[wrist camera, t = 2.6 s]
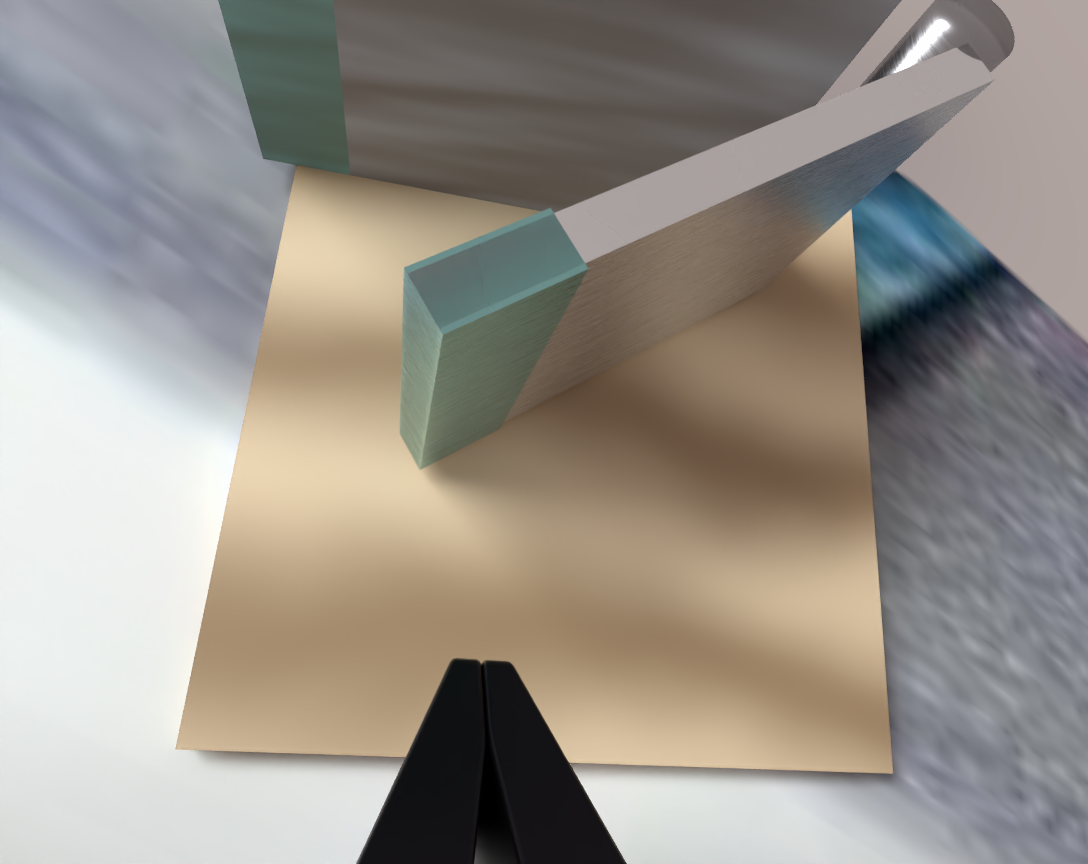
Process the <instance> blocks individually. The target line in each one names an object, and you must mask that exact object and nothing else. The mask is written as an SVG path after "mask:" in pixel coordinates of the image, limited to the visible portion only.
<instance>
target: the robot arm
mask: <svg viewBox="0 0 1088 864" xmlns="http://www.w3.org/2000/svg"><path fill="white" fill-rule="evenodd" d="M356 864H627V863H626V862H625V860H624V858H623V856H622V855H621V853H620V851H619V849H618V848H617V846H616V844H615V842H614V841H613V839H612V837H611V835H610V834H609V832H608V830H607V828H606V827H605V825H604V823H603V821H602V820H601V818H600V816H599V814H598V813H597V811H596V809H595V807H594V806H593V804H592V802H591V800H590V799H589V797H588V795H587V793H586V792H585V790H584V788H583V786H582V784H581V783H580V781H579V779H578V777H577V776H576V774H575V772H574V770H573V769H572V767H571V765H570V763H569V762H568V760H567V758H566V756H565V755H564V753H563V751H562V749H561V748H560V746H559V744H558V742H557V741H556V739H555V737H554V735H553V734H552V732H551V730H550V728H549V727H548V725H547V723H546V721H545V720H544V718H543V716H542V714H541V713H540V711H539V709H538V707H537V706H536V704H535V702H534V700H533V698H532V697H531V695H530V693H529V691H528V690H527V688H526V686H525V684H524V683H523V681H522V679H521V677H520V676H519V674H518V672H517V670H516V669H515V667H514V665H513V664H512V663H510V662H509V661H498V660H485V661H483V662H482V663H480V661H479V660H477V659H465V658H454V659H452V660H451V661H450V663H449V665H448V667H447V669H446V671H445V673H444V676H443V678H442V680H441V682H440V684H439V686H438V688H437V691H436V693H435V695H434V697H433V699H432V701H431V704H430V706H429V708H428V710H427V712H426V714H425V717H424V719H423V721H422V723H421V725H420V727H419V729H418V732H417V734H416V736H415V738H414V740H413V742H412V745H411V747H410V749H409V751H408V753H407V755H406V758H405V760H404V762H403V764H402V766H401V768H400V770H399V773H398V775H397V777H396V779H395V781H394V783H393V786H392V788H391V790H390V792H389V794H388V796H387V799H386V801H385V803H384V805H383V807H382V809H381V811H380V814H379V816H378V818H377V820H376V822H375V824H374V827H373V829H372V831H371V833H370V835H369V837H368V839H367V842H366V844H365V846H364V848H363V850H362V852H361V855H360V857H359V859H358V861H357V863H356Z"/></svg>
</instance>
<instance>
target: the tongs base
mask: <svg viewBox="0 0 1088 864" xmlns="http://www.w3.org/2000/svg"><path fill="white" fill-rule="evenodd" d="M218 1H219V4H220V8H221V11H222V15H223V18H224V22H225V25H226V29H227V33H228V36H229V40H230V43H231V47H232V50H233V54H234V57H235V61H236V64H237V68H238V71H239V75H240V78H241V82H242V85H243V89H244V92H245V96H246V99H247V103H248V106H249V110H250V113H251V117H252V120H253V124H254V128H255V131H256V135H257V138H258V142H259V145H260V149H261V152H262V156H263V159H268V160H273V161H279V162H284V163H289V164H294V165H296V170H295V174H294V179H293V184H292V189H291V194H290V199H289V203H288V208H287V213H286V218H285V223H284V228H283V232H282V237H281V242H280V247H279V252H278V257H277V261H276V266H275V271H274V276H273V281H272V286H271V290H270V295H269V300H268V305H267V310H266V315H265V319H264V324H263V329H262V334H261V339H260V343H259V348H258V353H257V358H256V363H255V368H254V372H253V377H252V382H251V387H250V392H249V397H248V401H247V406H246V411H245V416H244V421H243V426H242V430H241V435H240V440H239V445H238V450H237V455H236V459H235V464H234V469H233V474H232V479H231V484H230V488H229V493H228V498H227V503H226V508H225V513H224V517H223V522H222V527H221V532H220V537H219V542H218V546H217V551H216V556H215V561H214V566H213V571H212V575H211V580H210V585H209V590H208V595H207V600H206V604H205V609H204V614H203V619H202V624H201V629H200V633H199V638H198V643H197V648H196V653H195V657H194V662H193V667H192V672H191V677H190V682H189V686H188V691H187V696H186V701H185V706H184V711H183V715H182V720H181V725H180V730H179V735H178V740H177V744H176V749H180V750H209V751H239V752H268V753H298V754H328V755H357V756H387V757H406V755H407V753H408V751H409V749H410V747H411V745H412V742H413V740H414V738H415V736H416V734H417V732H418V729H419V727H420V725H421V723H422V721H423V719H424V717H425V714H426V712H427V710H428V708H429V706H430V704H431V701H432V699H433V697H434V695H435V693H436V691H437V688H438V686H439V684H440V682H441V680H442V678H443V676H444V673H445V671H446V669H447V667H448V665H449V663H450V661H451V660H452V659H454V658H465V659H477V660H479V661H480V663H482V662H483V661H485V660H498V661H509V662H510V663H512V664H513V665H514V667H515V669H516V670H517V672H518V674H519V676H520V677H521V679H522V681H523V683H524V684H525V686H526V688H527V690H528V691H529V693H530V695H531V697H532V698H533V700H534V702H535V704H536V706H537V707H538V709H539V711H540V713H541V714H542V716H543V718H544V720H545V721H546V723H547V725H548V727H549V728H550V730H551V732H552V734H553V735H554V737H555V739H556V741H557V742H558V744H559V746H560V748H561V749H562V751H563V753H564V755H565V756H566V758H567V760H568V762H569V763H594V764H623V765H653V766H683V767H712V768H742V769H771V770H801V771H831V772H860V773H890V774H893V765H892V751H891V738H890V724H889V711H888V697H887V684H886V670H885V657H884V643H883V630H882V617H881V603H880V590H879V576H878V563H877V549H876V536H875V522H874V509H873V495H872V482H871V468H870V455H869V441H868V428H867V414H866V401H865V387H864V374H863V360H862V347H861V333H860V320H859V306H858V293H857V279H856V266H855V252H854V239H853V226H852V212H851V210H850V211H848V212H847V213H846V214H845V215H844V216H843V217H842V218H841V219H840V220H838V221H837V222H836V223H835V224H834V225H833V226H832V227H831V228H830V229H828V230H827V231H826V232H825V233H824V234H823V235H822V236H821V237H820V238H818V239H817V240H816V241H815V242H814V243H813V244H812V245H811V246H810V247H808V248H807V249H806V250H805V251H804V252H803V253H802V254H801V255H800V256H798V257H797V258H796V259H795V260H794V261H793V262H792V263H791V264H790V265H788V266H787V267H786V268H785V269H784V270H783V271H782V272H781V273H780V274H778V275H777V276H776V277H775V278H774V279H773V280H772V281H771V282H769V283H768V284H767V285H766V286H765V287H764V288H763V289H762V290H760V291H758V292H756V293H754V294H752V295H750V296H748V297H746V298H744V299H742V300H740V301H738V302H736V303H734V304H732V305H731V306H729V307H727V308H725V309H723V310H721V311H719V312H717V313H715V314H713V315H711V316H709V317H707V318H705V319H703V320H701V321H700V322H698V323H696V324H694V325H692V326H690V327H688V328H686V329H684V330H682V331H680V332H678V333H676V334H674V335H672V336H670V337H669V338H667V339H665V340H663V341H661V342H659V343H657V344H655V345H653V346H651V347H649V348H647V349H645V350H643V351H641V352H639V353H638V354H636V355H634V356H632V357H630V358H628V359H626V360H624V361H622V362H620V363H618V364H616V365H614V366H612V367H610V368H608V369H607V370H605V371H603V372H601V373H599V374H597V375H595V376H593V377H591V378H589V379H587V380H585V381H583V382H581V383H579V384H577V385H576V386H574V387H572V388H570V389H568V390H566V391H564V392H562V393H560V394H558V395H556V396H554V397H552V398H550V399H548V400H546V401H545V402H543V403H541V404H539V405H537V406H535V407H533V408H531V409H529V410H527V411H525V412H523V413H521V414H519V415H517V416H515V417H513V418H512V419H510V420H508V421H506V422H504V423H503V424H502V426H501V428H500V429H498V430H496V431H494V432H492V433H491V434H489V435H487V436H485V437H483V438H481V439H479V440H477V441H475V442H473V443H471V444H469V445H467V446H465V447H464V448H462V449H460V450H458V451H456V452H454V453H452V454H450V455H448V456H446V457H444V458H442V459H440V460H438V461H437V462H435V463H433V464H431V465H429V466H427V467H425V468H423V469H421V470H420V469H419V468H418V466H417V464H416V462H415V460H414V459H413V457H412V455H411V453H410V452H409V450H408V448H407V446H406V444H405V443H404V441H403V439H402V437H401V435H400V434H399V431H400V394H401V357H402V320H403V283H404V267H406V266H409V265H411V264H414V263H416V262H419V261H421V260H424V259H426V258H428V257H431V256H433V255H436V254H438V253H441V252H443V251H446V250H448V249H450V248H453V247H455V246H458V245H460V244H463V243H465V242H468V241H470V240H473V239H475V238H477V237H480V236H482V235H485V234H487V233H490V232H492V231H495V230H497V229H500V228H502V227H504V226H507V225H509V224H512V223H514V222H517V221H519V220H522V219H524V218H526V217H529V216H531V215H534V214H536V213H539V212H541V211H544V210H546V209H549V208H551V209H552V211H553V212H554V213H556V212H558V211H560V210H563V209H565V208H568V207H570V206H573V205H575V204H577V203H580V202H582V201H585V200H587V199H590V198H592V197H594V196H597V195H599V194H602V193H604V192H607V191H609V190H611V189H614V188H616V187H619V186H621V185H624V184H626V183H628V182H631V181H633V180H636V179H638V178H641V177H643V176H645V175H648V174H650V173H653V172H655V171H658V170H660V169H662V168H665V167H667V166H670V165H672V164H675V163H677V162H679V161H682V160H684V159H687V158H689V157H692V156H694V155H696V154H699V153H701V152H704V151H706V150H709V149H711V148H713V147H716V146H718V145H721V144H723V143H726V142H728V141H730V140H733V139H735V138H738V137H740V136H743V135H745V134H747V133H750V132H752V131H755V130H757V129H760V128H762V127H764V126H767V125H769V124H772V123H774V122H777V121H779V120H781V119H784V118H786V117H789V116H791V115H794V114H796V113H798V112H801V111H803V110H806V109H808V108H811V107H813V106H815V105H816V104H817V103H818V101H819V100H820V99H821V98H822V97H823V96H824V94H825V93H826V92H827V91H828V89H829V88H830V87H831V86H832V85H833V83H834V82H835V81H836V80H837V78H838V77H839V76H840V75H841V74H842V72H843V71H844V70H845V69H846V67H847V66H848V65H849V64H850V63H851V61H852V60H853V59H854V58H855V56H856V55H857V54H858V53H859V52H860V50H861V49H862V48H863V47H864V45H865V44H866V43H867V42H868V41H869V39H870V38H871V37H872V36H873V34H874V33H875V32H876V31H877V30H878V28H879V27H880V26H881V25H882V23H883V22H884V21H885V19H887V17H888V16H889V15H890V14H891V12H892V11H893V10H894V9H895V8H896V6H897V5H898V4H899V3H900V1H901V0H218Z"/></svg>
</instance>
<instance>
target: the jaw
mask: <svg viewBox="0 0 1088 864" xmlns="http://www.w3.org/2000/svg"><path fill="white" fill-rule="evenodd" d="M1013 47H1014V33H1013V29H1012V26H1011V24H1010V22H1009V20H1008V18H1007V17H1006V15H1005V14H1004V13H1003V11H1002V10H1001V9H1000V8H999V7H998V6H997V5H996V4H995V3H994V2H993V1H992V0H935V1H934V2H933V3H932V4H931V6H930V7H929V8H928V9H927V10H926V11H925V12H924V14H923V15H922V16H921V17H920V18H919V19H918V21H917V22H916V23H915V24H914V25H913V26H912V27H911V29H910V30H909V31H908V32H907V33H906V34H905V35H904V37H903V38H902V39H901V40H900V41H899V42H898V43H897V45H896V46H895V47H894V48H893V49H892V50H891V52H890V53H889V54H888V55H887V56H886V57H885V58H884V59H883V61H882V62H881V63H880V64H879V65H878V66H877V67H876V69H875V70H874V71H873V72H872V73H871V74H870V76H869V77H868V78H867V79H866V80H865V81H864V82H863V84H862V85H861V86H860V87H859V88H857V89H854V90H852V91H849V92H847V93H845V94H842V95H840V96H837V97H835V98H832V99H830V100H828V101H825V102H823V103H820V104H818V105H815V106H813V107H811V108H808V109H806V110H803V111H801V112H798V113H796V114H794V115H791V116H789V117H786V118H784V119H781V120H779V121H777V122H774V123H772V124H769V125H767V126H764V127H762V128H760V129H757V130H755V131H752V132H750V133H747V134H745V135H743V136H740V137H738V138H735V139H733V140H730V141H728V142H726V143H723V144H721V145H718V146H716V147H713V148H711V149H709V150H706V151H704V152H701V153H699V154H696V155H694V156H692V157H689V158H687V159H684V160H682V161H679V162H677V163H675V164H672V165H670V166H667V167H665V168H662V169H660V170H658V171H655V172H653V173H650V174H648V175H645V176H643V177H641V178H638V179H636V180H633V181H631V182H628V183H626V184H624V185H621V186H619V187H616V188H614V189H611V190H609V191H607V192H604V193H602V194H599V195H597V196H594V197H592V198H590V199H587V200H585V201H582V202H580V203H577V204H575V205H573V206H570V207H568V208H565V209H563V210H560V211H558V212H556V213H554V212H553V211H552V209H551V208H549V209H546V210H544V211H541V212H539V213H536V214H534V215H531V216H529V217H526V218H524V219H522V220H519V221H517V222H514V223H512V224H509V225H507V226H504V227H502V228H500V229H497V230H495V231H492V232H490V233H487V234H485V235H482V236H480V237H477V238H475V239H473V240H470V241H468V242H465V243H463V244H460V245H458V246H455V247H453V248H450V249H448V250H446V251H443V252H441V253H438V254H436V255H433V256H431V257H428V258H426V259H424V260H421V261H419V262H416V263H414V264H411V265H409V266H406V267H404V283H403V320H402V357H401V394H400V431H399V434H400V435H401V437H402V439H403V441H404V443H405V444H406V446H407V448H408V450H409V452H410V453H411V455H412V457H413V459H414V460H415V462H416V464H417V466H418V468H419V469H420V470H421V469H423V468H425V467H427V466H429V465H431V464H433V463H435V462H437V461H438V460H440V459H442V458H444V457H446V456H448V455H450V454H452V453H454V452H456V451H458V450H460V449H462V448H464V447H465V446H467V445H469V444H471V443H473V442H475V441H477V440H479V439H481V438H483V437H485V436H487V435H489V434H491V433H492V432H494V431H496V430H498V429H500V428H501V426H502V424H503V423H504V422H506V421H508V420H510V419H512V418H513V417H515V416H517V415H519V414H521V413H523V412H525V411H527V410H529V409H531V408H533V407H535V406H537V405H539V404H541V403H543V402H545V401H546V400H548V399H550V398H552V397H554V396H556V395H558V394H560V393H562V392H564V391H566V390H568V389H570V388H572V387H574V386H576V385H577V384H579V383H581V382H583V381H585V380H587V379H589V378H591V377H593V376H595V375H597V374H599V373H601V372H603V371H605V370H607V369H608V368H610V367H612V366H614V365H616V364H618V363H620V362H622V361H624V360H626V359H628V358H630V357H632V356H634V355H636V354H638V353H639V352H641V351H643V350H645V349H647V348H649V347H651V346H653V345H655V344H657V343H659V342H661V341H663V340H665V339H667V338H669V337H670V336H672V335H674V334H676V333H678V332H680V331H682V330H684V329H686V328H688V327H690V326H692V325H694V324H696V323H698V322H700V321H701V320H703V319H705V318H707V317H709V316H711V315H713V314H715V313H717V312H719V311H721V310H723V309H725V308H727V307H729V306H731V305H732V304H734V303H736V302H738V301H740V300H742V299H744V298H746V297H748V296H750V295H752V294H754V293H756V292H758V291H760V290H762V289H763V288H764V287H765V286H766V285H767V284H768V283H769V282H771V281H772V280H773V279H774V278H775V277H776V276H777V275H778V274H780V273H781V272H782V271H783V270H784V269H785V268H786V267H787V266H788V265H790V264H791V263H792V262H793V261H794V260H795V259H796V258H797V257H798V256H800V255H801V254H802V253H803V252H804V251H805V250H806V249H807V248H808V247H810V246H811V245H812V244H813V243H814V242H815V241H816V240H817V239H818V238H820V237H821V236H822V235H823V234H824V233H825V232H826V231H827V230H828V229H830V228H831V227H832V226H833V225H834V224H835V223H836V222H837V221H838V220H840V219H841V218H842V217H843V216H844V215H845V214H846V213H847V212H848V211H850V210H851V209H852V208H853V207H854V206H855V205H856V204H857V203H858V202H860V201H861V200H862V199H863V198H864V197H865V196H866V195H867V194H868V193H870V192H871V191H872V190H873V189H874V188H875V187H876V186H877V185H878V184H880V183H881V182H882V181H883V180H884V179H885V178H886V177H887V176H888V175H890V174H891V173H892V172H893V171H894V170H895V169H896V168H897V167H898V166H900V165H901V164H902V163H903V162H904V161H905V160H906V159H907V158H909V157H910V156H911V155H912V154H913V153H914V152H915V151H916V150H917V149H919V148H920V147H921V146H922V145H923V144H924V143H925V142H926V141H927V140H929V139H930V138H931V137H932V136H933V135H934V134H935V133H936V132H937V131H939V130H940V129H941V128H942V127H943V126H944V125H945V124H946V123H947V122H949V121H950V120H951V119H952V118H953V117H954V116H955V115H956V114H957V113H959V112H960V111H961V110H962V109H963V108H964V107H965V106H966V105H967V104H969V103H970V102H971V101H972V100H973V99H974V98H975V97H976V96H977V95H979V94H980V93H981V92H982V91H983V90H984V89H985V88H986V87H987V86H989V85H990V84H991V83H992V82H993V81H994V80H995V78H994V77H993V75H992V74H991V73H990V72H991V71H993V69H995V68H996V67H997V66H998V65H999V64H1000V63H1001V62H1002V61H1003V60H1005V59H1006V58H1007V57H1008V56H1009V55H1010V53H1011V52H1012V50H1013Z"/></svg>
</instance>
